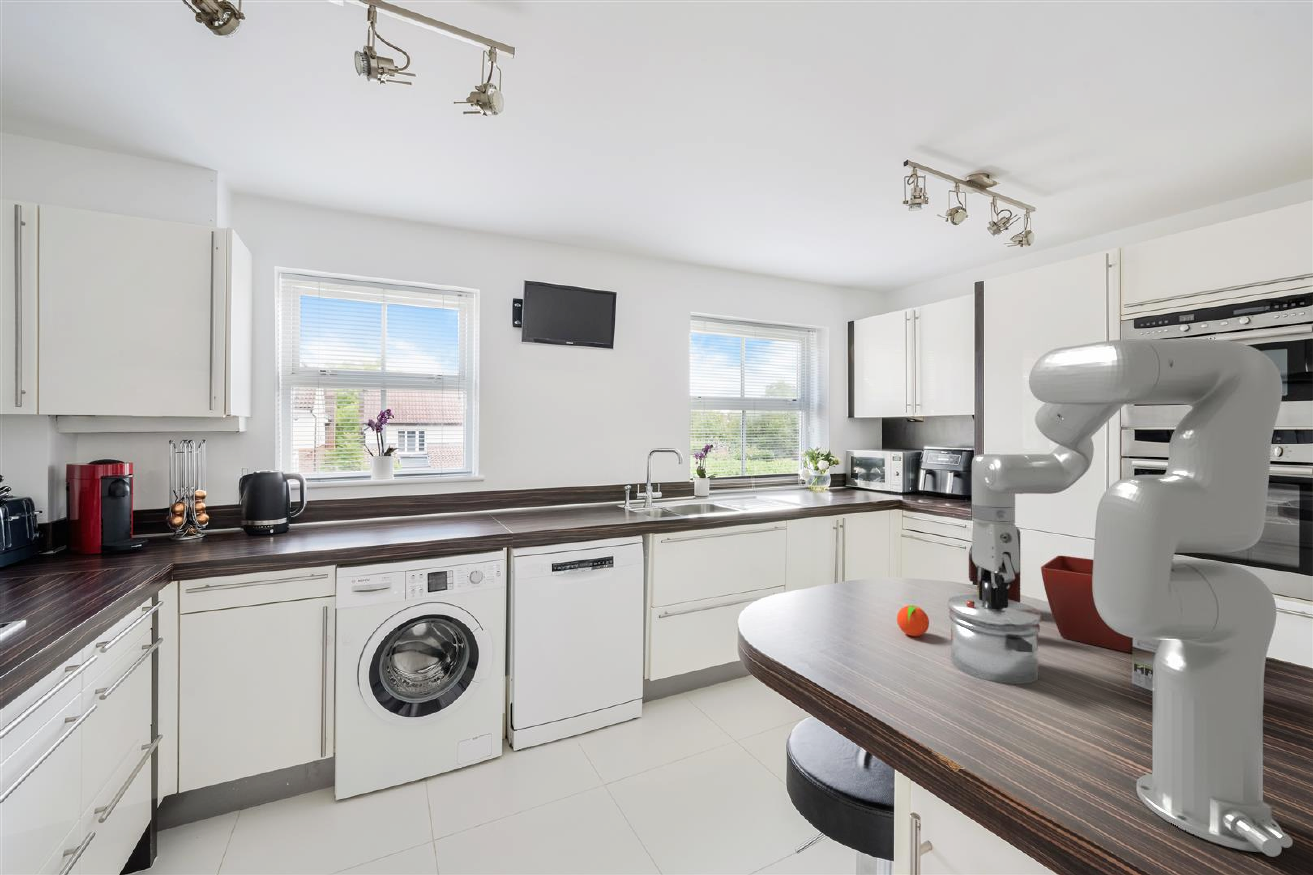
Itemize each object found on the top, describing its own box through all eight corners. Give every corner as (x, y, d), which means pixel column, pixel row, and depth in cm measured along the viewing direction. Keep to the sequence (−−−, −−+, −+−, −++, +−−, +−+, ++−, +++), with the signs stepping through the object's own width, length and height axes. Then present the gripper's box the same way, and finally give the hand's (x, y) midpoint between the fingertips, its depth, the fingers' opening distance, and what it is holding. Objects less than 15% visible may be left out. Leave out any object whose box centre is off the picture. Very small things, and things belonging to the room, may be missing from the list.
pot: (1070, 695, 96) (1070, 640, 96) (979, 690, 98) (979, 637, 98) (1003, 647, 118) (1003, 602, 118) (930, 644, 120) (930, 600, 120)
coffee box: (1171, 699, 95) (1171, 610, 95) (1130, 683, 101) (1130, 599, 101) (1206, 693, 97) (1206, 605, 97) (1164, 677, 103) (1164, 595, 103)
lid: (1061, 626, 100) (1061, 593, 100) (976, 626, 100) (976, 593, 100) (1006, 600, 116) (1006, 572, 116) (933, 600, 116) (933, 572, 116)
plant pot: (1039, 637, 124) (1039, 566, 124) (1058, 619, 137) (1058, 554, 137) (1149, 663, 110) (1150, 583, 110) (1160, 640, 122) (1160, 568, 122)
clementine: (925, 644, 120) (925, 613, 120) (892, 637, 124) (892, 607, 124) (931, 634, 126) (931, 604, 126) (900, 627, 130) (900, 599, 130)
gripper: (1037, 521, 99) (1037, 618, 99) (991, 509, 116) (991, 592, 116) (995, 520, 100) (995, 616, 100) (955, 508, 116) (955, 591, 116)
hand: (993, 602), depth 108 cm, fingers closed on lid, 3 cm apart
